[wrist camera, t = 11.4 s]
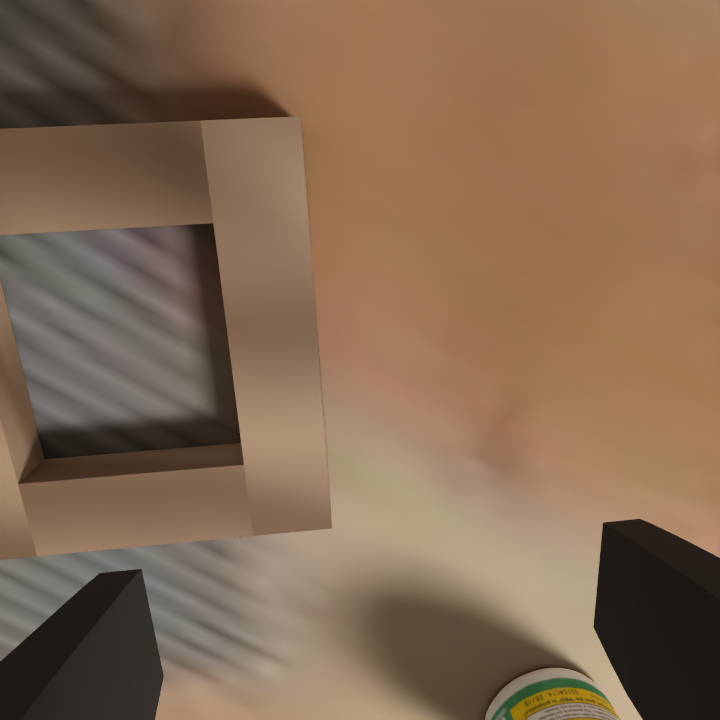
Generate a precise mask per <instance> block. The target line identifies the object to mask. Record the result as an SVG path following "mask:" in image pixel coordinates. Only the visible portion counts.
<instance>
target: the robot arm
mask: <svg viewBox="0 0 720 720" xmlns="http://www.w3.org/2000/svg"><path fill="white" fill-rule="evenodd" d="M594 629H595V631H596V633H597V635H598V637H599V639H600V641H601V644H602V646H603V648H604V650H605V652H606V654H607V656H608V658H609V660H610V662H611V664H612V666H613V668H614V670H615V672H616V674H617V676H618V678H619V680H620V682H621V684H622V686H623V688H624V689H625V691H626V693H627V695H628V697H629V698H630V700H631V701H632V703H633V705H634V706H635V708H636V709H637V711H638V713H639V714H640V716H641V717H642V719H643V720H720V558H719V557H717V556H715V555H713V554H711V553H709V552H707V551H705V550H703V549H701V548H699V547H697V546H695V545H694V544H692V543H690V542H688V541H686V540H684V539H682V538H680V537H678V536H676V535H674V534H672V533H670V532H668V531H666V530H663V529H661V528H659V527H657V526H655V525H653V524H650V523H648V522H646V521H644V520H641V519H635V520H625V521H615V522H605V523H603V530H602V541H601V552H600V563H599V574H598V585H597V596H596V607H595V618H594ZM163 677H164V676H163V671H162V666H161V661H160V656H159V652H158V647H157V642H156V637H155V632H154V627H153V623H152V618H151V613H150V608H149V603H148V599H147V594H146V589H145V584H144V579H143V574H142V570H141V569H137V570H127V571H117V572H107V573H100V574H98V575H97V576H96V577H95V578H94V579H92V580H91V581H90V582H89V583H88V584H86V585H85V586H84V587H83V588H82V589H81V590H80V591H78V592H77V593H76V594H75V595H74V596H73V597H72V598H71V599H69V600H68V601H67V602H66V603H65V604H64V605H63V606H62V607H61V608H59V609H58V610H57V611H56V612H55V613H54V614H53V615H52V616H51V617H49V618H48V619H47V620H46V621H45V622H44V623H43V624H42V625H41V626H40V627H38V628H37V629H36V630H35V631H34V632H33V633H32V634H31V635H30V636H29V637H27V638H26V639H25V640H24V641H23V642H22V643H21V644H20V645H18V646H17V647H16V648H15V649H14V650H13V651H12V652H11V653H10V654H8V655H7V656H6V657H5V658H4V659H3V660H2V661H1V662H0V720H155V716H156V711H157V706H158V701H159V696H160V691H161V686H162V682H163Z"/></svg>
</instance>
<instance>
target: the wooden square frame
mask: <svg viewBox="0 0 720 720" xmlns="http://www.w3.org/2000/svg"><path fill="white" fill-rule="evenodd" d="M210 223H213V224H214V232H215V240H216V247H217V255H218V263H219V271H220V279H221V287H222V295H223V303H224V311H225V318H226V326H227V334H228V342H229V350H230V358H231V366H232V374H233V382H234V389H235V397H236V405H237V413H238V421H239V429H240V437H241V443H233V444H221V445H209V446H197V447H185V448H172V449H160V450H148V451H136V452H124V453H112V454H100V455H88V456H76V457H64V458H52V459H44V455H43V451H42V447H41V443H40V439H39V435H38V431H37V427H36V423H35V418H34V414H33V410H32V406H31V402H30V398H29V394H28V390H27V386H26V382H25V378H24V374H23V370H22V366H21V362H20V358H19V354H18V350H17V346H16V342H15V337H14V333H13V329H12V325H11V321H10V317H9V313H8V309H7V305H6V301H5V297H4V293H3V289H2V285H1V281H0V560H3V559H13V558H24V557H34V556H45V555H55V554H66V553H77V552H87V551H98V550H108V549H119V548H129V547H140V546H150V545H161V544H172V543H182V542H193V541H203V540H214V539H224V538H235V537H245V536H256V535H266V534H277V533H288V532H298V531H309V530H319V529H330V528H332V523H331V505H330V491H329V478H328V465H327V452H326V439H325V426H324V413H323V399H322V386H321V373H320V360H319V347H318V334H317V321H316V307H315V294H314V281H313V268H312V255H311V242H310V229H309V215H308V202H307V189H306V176H305V163H304V150H303V137H302V125H301V118H300V116H298V117H273V118H249V119H225V120H201V121H177V122H153V123H128V124H104V125H80V126H56V127H32V128H8V129H0V235H8V234H27V233H45V232H63V231H82V230H100V229H118V228H137V227H155V226H173V225H192V224H210Z"/></svg>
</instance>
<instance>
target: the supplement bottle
mask: <svg viewBox="0 0 720 720" xmlns="http://www.w3.org/2000/svg"><path fill="white" fill-rule="evenodd" d="M485 720H620V718H619V717H618V715H617V713H616V712H615V710H614V708H613V707H612V705H611V703H610V702H609V700H608V699H607V697H606V695H605V694H604V692H603V691H602V690H601V689H600V688H599V687H598V685H597V684H595V683H594V682H593V681H592V680H590V679H589V678H588V677H586V676H584V675H583V674H581V673H579V672H576V671H573V670H570V669H565V668H545V669H540V670H536V671H533V672H530V673H527V674H524V675H522V676H520V677H518V678H516V679H514V680H513V681H511V682H510V683H509V684H507V685H506V686H505V687H504V688H503V689H502V690H501V691H500V692H499V693H498V695H497V696H496V697H495V698H494V700H493V701H492V703H491V705H490V706H489V708H488V711H487V713H486V717H485Z"/></svg>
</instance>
